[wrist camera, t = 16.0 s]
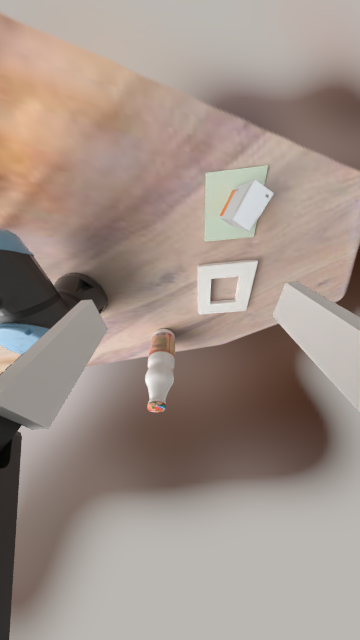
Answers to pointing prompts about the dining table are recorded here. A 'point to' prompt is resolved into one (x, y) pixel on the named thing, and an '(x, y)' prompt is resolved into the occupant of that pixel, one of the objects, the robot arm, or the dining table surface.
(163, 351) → the fruit juice
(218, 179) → the pad
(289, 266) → the dining table surface
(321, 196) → the dining table surface
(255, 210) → the skincare box
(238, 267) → the white frame
